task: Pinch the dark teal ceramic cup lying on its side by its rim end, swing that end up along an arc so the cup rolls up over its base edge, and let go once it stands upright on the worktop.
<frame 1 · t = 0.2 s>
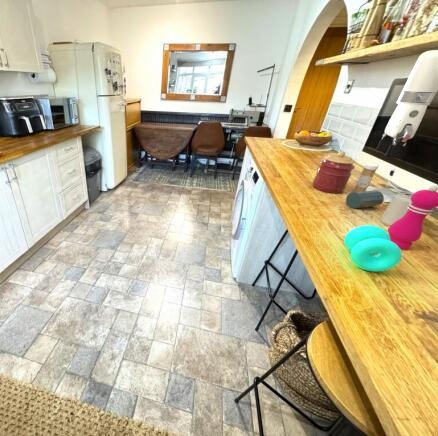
hand: (385, 153, 82), 23 cm above the counter, tool pointing down, fingers open, 9 cm apart
kitchen canister: (326, 188, 115), on the counter
can: (392, 224, 87), on the counter
pepper mill: (395, 244, 76), on the counter
sprinkles bottle: (357, 192, 111), on the counter
cup: (364, 199, 97), point 3 cm above the counter, hinge at 88.1°
donuts: (361, 262, 69), on the counter
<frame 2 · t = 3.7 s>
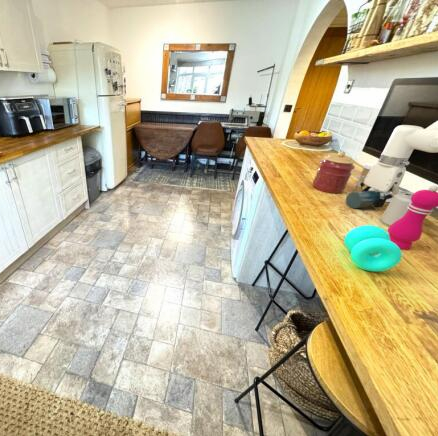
hand: (369, 202, 98), 1 cm above the counter, tool pointing down, fingers closed on cup, 6 cm apart
cup: (364, 199, 97), point 3 cm above the counter, hinge at 88.1°, touching gripper
everything else where it was.
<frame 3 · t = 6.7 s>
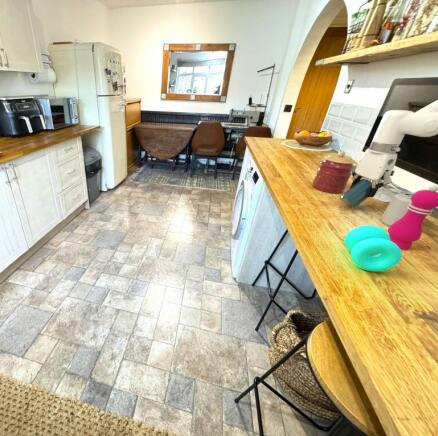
hand: (361, 192, 95), 6 cm above the counter, tool pointing down, fingers closed on cup, 6 cm apart
cup: (358, 193, 95), point 6 cm above the counter, hinge at 39.7°, touching gripper
everything else where it was.
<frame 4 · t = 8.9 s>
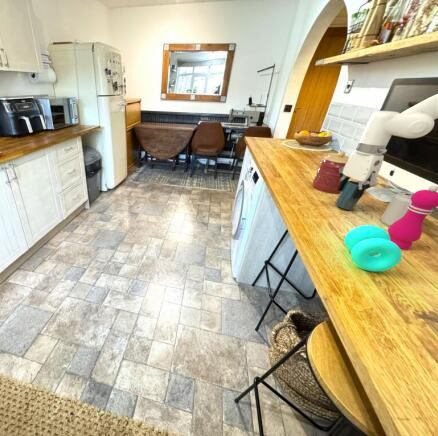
hand: (348, 193, 95), 6 cm above the counter, tool pointing down, fingers closed on cup, 6 cm apart
cup: (350, 195, 95), point 5 cm above the counter, hinge at 7.6°, touching gripper
everything else where it was.
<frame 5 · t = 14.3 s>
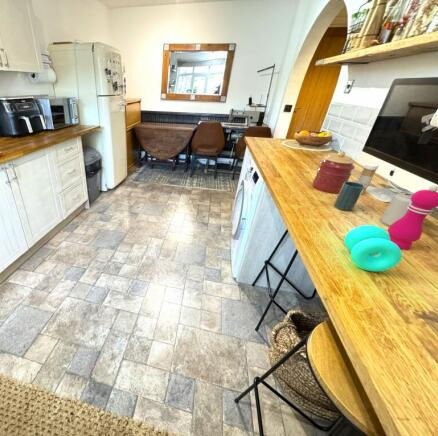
cup: (348, 196, 95), point 5 cm above the counter, hinge at -0.1°
everything else where it was.
at the end: cup at +0° (first picture: +88°); cup reached +88° during the clip, +0° at the end; the gripper is holding nothing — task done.
